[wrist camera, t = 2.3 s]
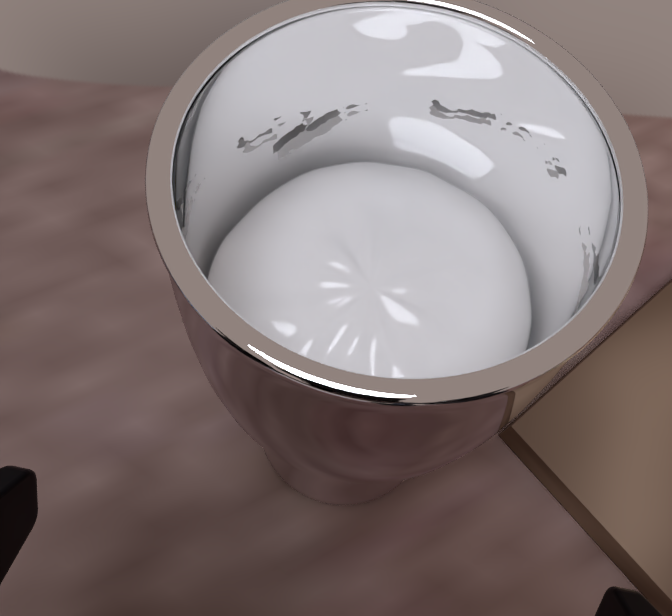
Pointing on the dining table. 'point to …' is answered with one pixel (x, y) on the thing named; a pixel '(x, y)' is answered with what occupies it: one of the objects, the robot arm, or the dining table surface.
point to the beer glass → (389, 229)
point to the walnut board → (614, 446)
